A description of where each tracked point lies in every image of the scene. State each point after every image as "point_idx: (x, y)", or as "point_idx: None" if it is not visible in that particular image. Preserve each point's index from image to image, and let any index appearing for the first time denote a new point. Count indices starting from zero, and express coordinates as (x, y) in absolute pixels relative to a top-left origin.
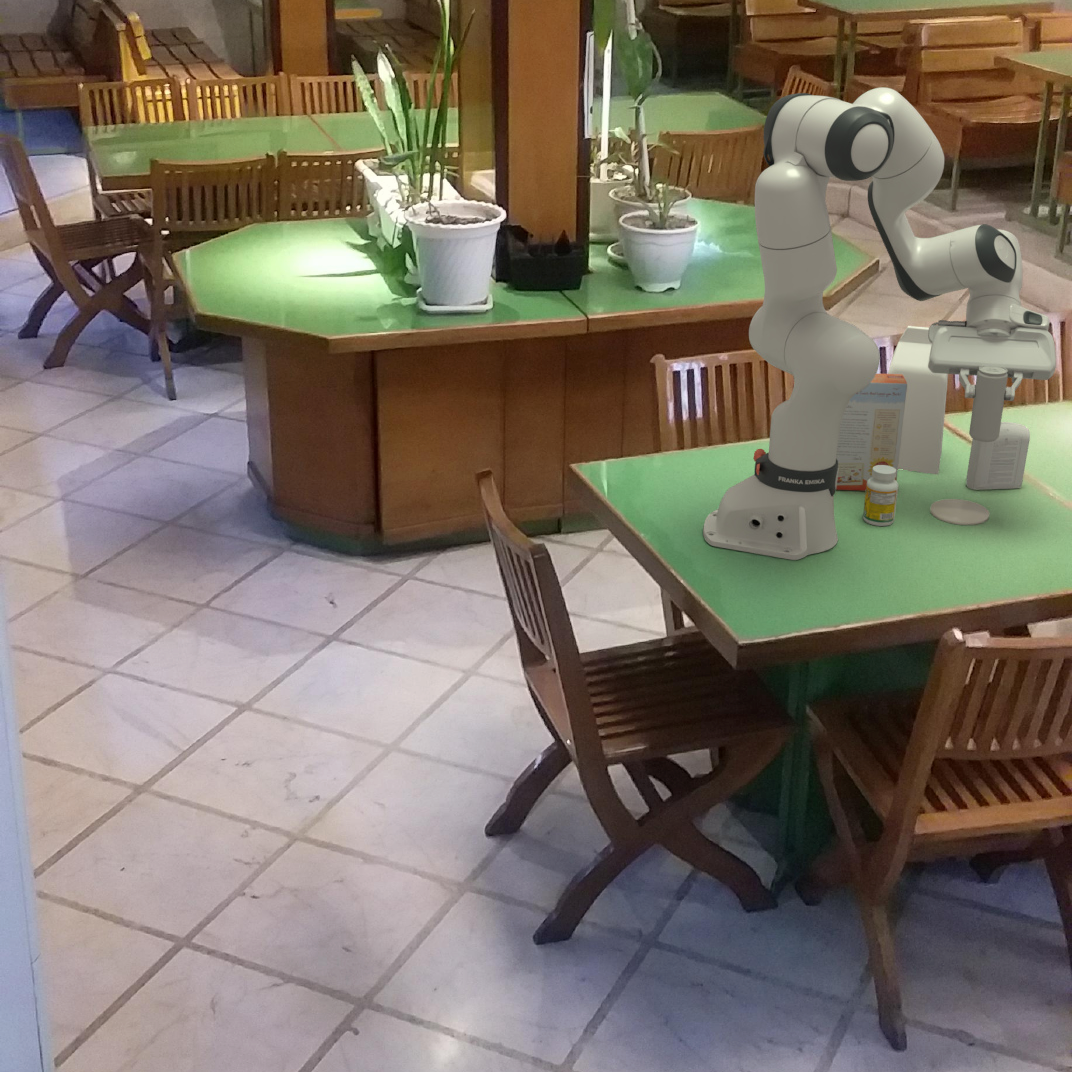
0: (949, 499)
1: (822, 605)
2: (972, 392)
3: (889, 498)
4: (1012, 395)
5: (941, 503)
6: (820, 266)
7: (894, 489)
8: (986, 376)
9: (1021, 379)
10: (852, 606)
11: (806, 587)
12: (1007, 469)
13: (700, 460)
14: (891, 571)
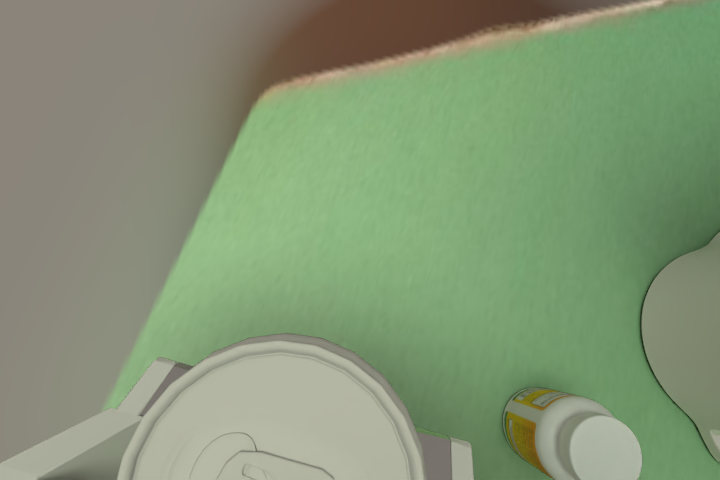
0: None
1: (686, 63)
2: (429, 435)
3: (554, 394)
4: (169, 361)
5: None
6: None
7: (553, 404)
8: (377, 374)
9: (15, 456)
10: (637, 58)
11: (710, 124)
12: None
13: None
14: (550, 177)
